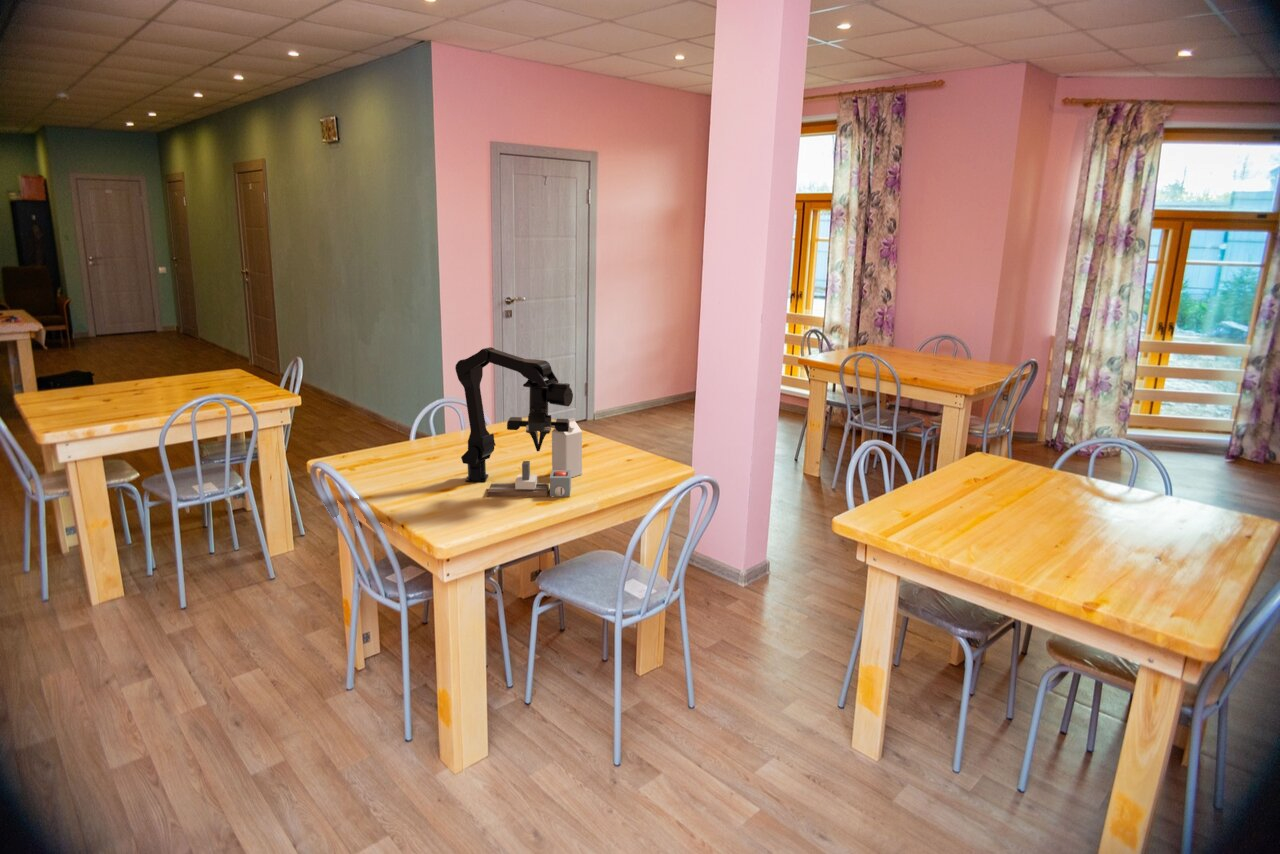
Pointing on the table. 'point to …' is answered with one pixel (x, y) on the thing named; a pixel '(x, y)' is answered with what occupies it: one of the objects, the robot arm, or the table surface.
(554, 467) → the milk carton
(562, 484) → the end cabinet
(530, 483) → the carriage
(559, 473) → the button
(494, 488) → the rail
